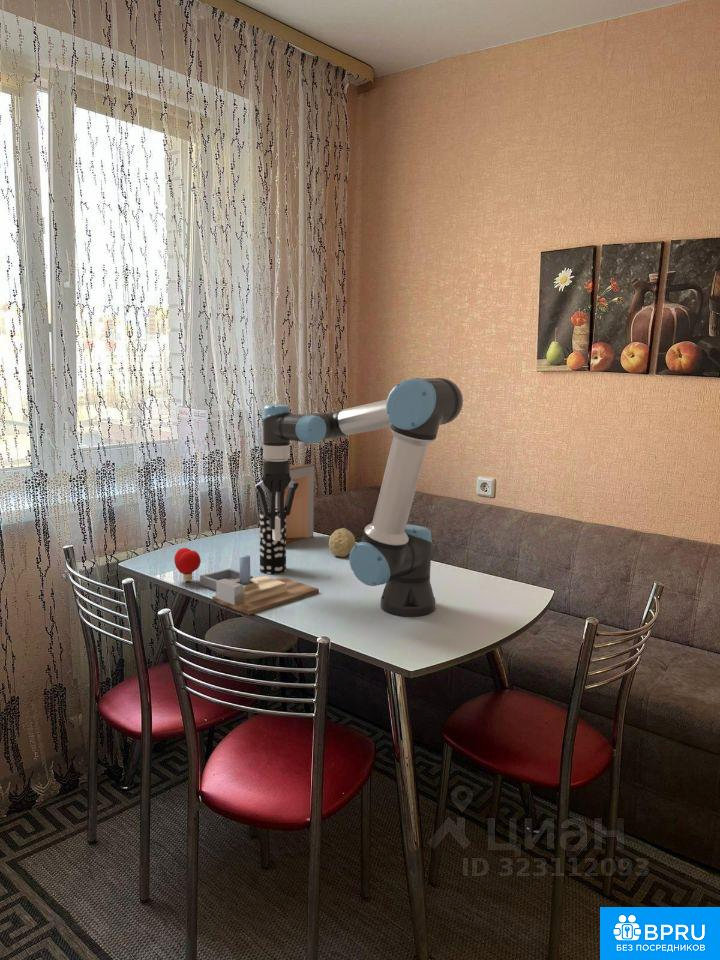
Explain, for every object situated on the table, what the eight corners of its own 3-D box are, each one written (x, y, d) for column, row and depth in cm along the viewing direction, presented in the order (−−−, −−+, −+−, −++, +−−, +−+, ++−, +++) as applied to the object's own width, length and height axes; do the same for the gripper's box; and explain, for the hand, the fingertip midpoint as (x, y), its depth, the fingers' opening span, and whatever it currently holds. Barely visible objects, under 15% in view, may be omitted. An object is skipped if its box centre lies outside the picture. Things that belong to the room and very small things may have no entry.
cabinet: (278, 548, 259) (278, 471, 254) (257, 544, 264) (257, 468, 259) (313, 537, 276) (313, 464, 271) (293, 533, 281) (293, 461, 276)
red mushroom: (206, 582, 219) (206, 550, 218) (186, 587, 214) (186, 555, 213) (189, 575, 226) (188, 544, 224) (169, 580, 221) (168, 548, 219)
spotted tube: (281, 575, 228) (281, 512, 225) (256, 573, 230) (255, 511, 226) (289, 567, 236) (289, 507, 233) (264, 565, 238) (264, 505, 234)
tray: (252, 585, 217) (252, 575, 217) (222, 594, 209) (222, 584, 209) (229, 577, 225) (229, 568, 224) (200, 585, 217) (199, 575, 216)
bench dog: (243, 602, 199) (243, 585, 198) (234, 605, 197) (234, 587, 196) (225, 595, 204) (225, 578, 204) (216, 598, 202) (216, 580, 201)
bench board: (318, 592, 212) (318, 588, 212) (248, 615, 193) (248, 610, 193) (282, 580, 223) (282, 576, 223) (212, 600, 204) (212, 596, 204)
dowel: (252, 587, 204) (252, 556, 203) (244, 589, 202) (243, 558, 201) (245, 585, 206) (245, 554, 205) (237, 587, 204) (237, 556, 203)
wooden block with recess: (286, 591, 209) (286, 578, 208) (247, 602, 199) (247, 588, 198) (263, 583, 216) (263, 570, 215) (225, 594, 206) (225, 580, 205)
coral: (362, 533, 255) (353, 527, 246) (355, 561, 253) (345, 557, 244) (337, 528, 258) (327, 522, 249) (330, 556, 256) (320, 551, 247)
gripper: (293, 456, 213) (293, 534, 217) (250, 458, 207) (250, 538, 212) (302, 460, 206) (302, 540, 210) (258, 462, 201) (258, 545, 205)
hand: (276, 539), depth 211 cm, fingers closed
